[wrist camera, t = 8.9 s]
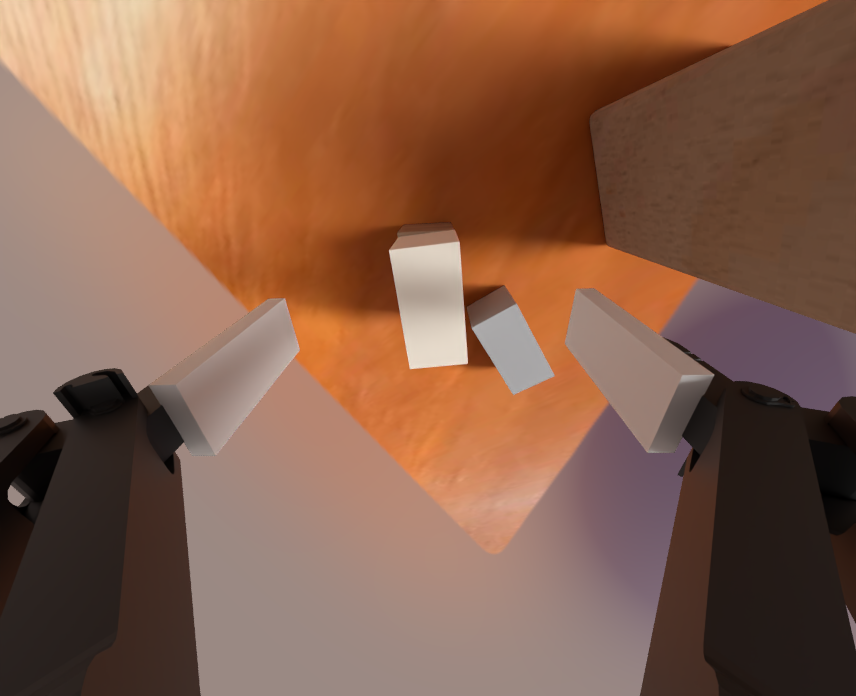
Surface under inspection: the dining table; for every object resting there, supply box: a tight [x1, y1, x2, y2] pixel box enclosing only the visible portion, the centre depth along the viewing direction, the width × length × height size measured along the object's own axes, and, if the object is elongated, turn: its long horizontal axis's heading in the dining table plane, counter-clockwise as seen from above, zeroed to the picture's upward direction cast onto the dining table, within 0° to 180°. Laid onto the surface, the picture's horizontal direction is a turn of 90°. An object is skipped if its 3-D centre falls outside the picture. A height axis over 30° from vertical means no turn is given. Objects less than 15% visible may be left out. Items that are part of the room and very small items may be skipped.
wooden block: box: [589, 0, 856, 334], centre depth 14 cm, size 10×10×20 cm
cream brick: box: [389, 230, 468, 369], centre depth 21 cm, size 8×4×5 cm, turn 7°
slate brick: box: [467, 286, 555, 395], centre depth 28 cm, size 8×4×5 cm, turn 33°
